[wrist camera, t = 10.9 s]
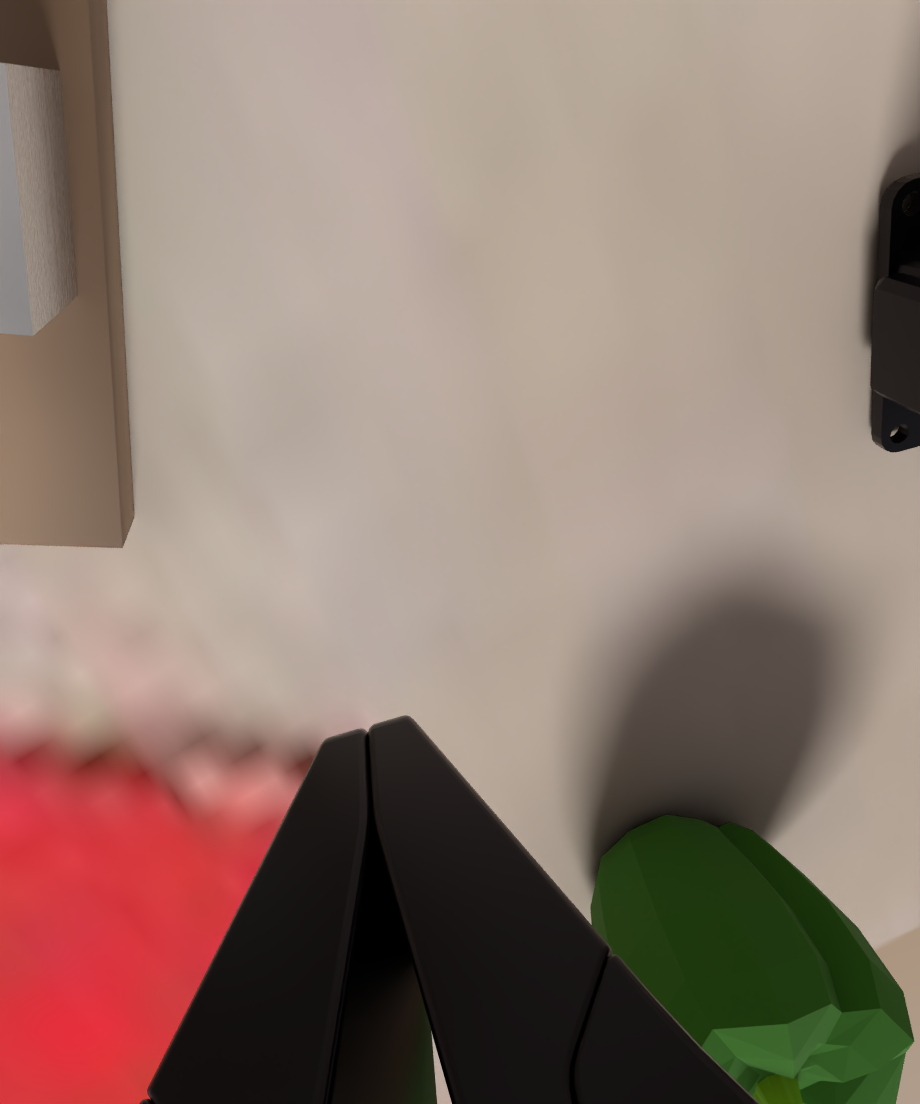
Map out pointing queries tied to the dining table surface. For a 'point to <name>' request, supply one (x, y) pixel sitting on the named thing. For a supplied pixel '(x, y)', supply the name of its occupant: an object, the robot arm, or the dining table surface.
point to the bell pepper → (753, 963)
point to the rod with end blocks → (33, 201)
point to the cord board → (70, 314)
